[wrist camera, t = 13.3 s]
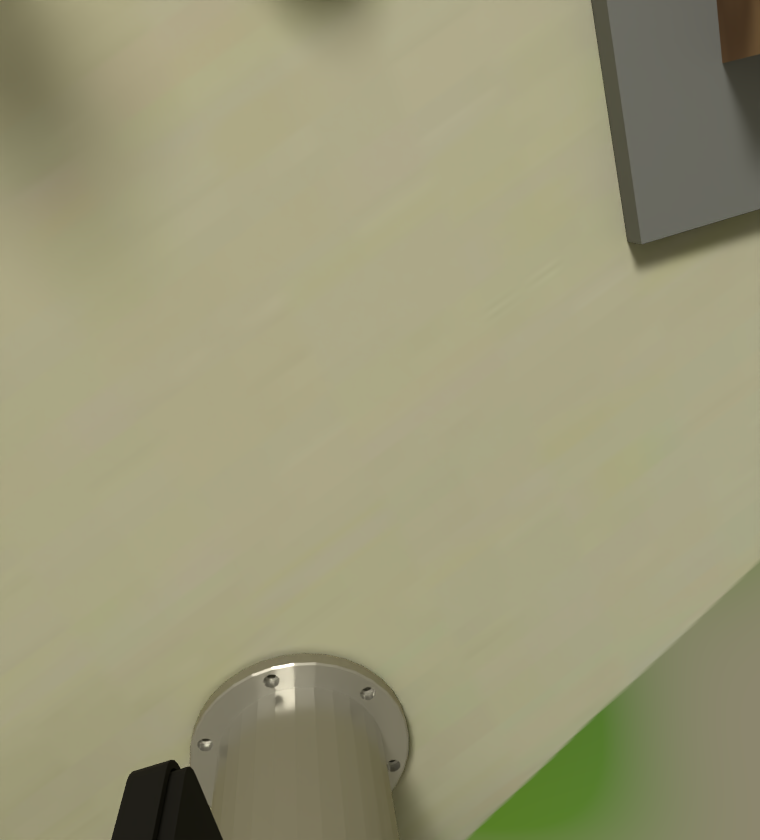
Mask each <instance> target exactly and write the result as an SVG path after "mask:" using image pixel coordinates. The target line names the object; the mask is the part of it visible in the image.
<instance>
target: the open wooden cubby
mask: <svg viewBox="0 0 760 840" xmlns="http://www.w3.org/2000/svg"><path fill="white" fill-rule="evenodd" d="M716 1H717V12H718V22H719V33H720V44H721V54H722V63H726V62H730V61H734V60H738V59H742V58H746V57H750V56H754V55H758V54H760V0H716Z"/></svg>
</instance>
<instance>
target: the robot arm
mask: <svg viewBox="0 0 760 840" xmlns="http://www.w3.org/2000/svg"><path fill="white" fill-rule="evenodd" d="M408 754H409V734H408V729H407V723H406V719H405V716H404V713H403V710H402V707H401V704H400V702H399V701H398V699H397V697H396V696H395V694H394V692H393V691H392V689H391V688H390V687H389V686H388V685H387V684H386V683H385V682H384V681H383V680H382V679H381V678H380V677H379V676H377V675H376V674H374V673H373V672H371V671H370V670H368V669H367V668H365V667H364V666H361V665H359V664H356V663H354V662H352V661H349V660H347V659H344V658H339V657H335V656H330V655H326V654H309V653H302V654H292V655H283V656H279V657H275V658H272V659H268V660H264V661H261V662H259V663H257V664H255V665H252V666H250V667H248V668H246V669H244V670H242V671H240V672H239V673H237V674H236V675H234V676H233V677H231V678H230V679H228V680H227V681H225V682H224V683H223V684H222V685H221V686H220V687H219V688H218V689H217V690H216V691H215V692H214V693H213V694H212V695H211V697H210V698H209V699H208V701H207V702H206V704H205V705H204V707H203V708H202V710H201V711H200V714H199V716H198V719H197V721H196V724H195V726H194V730H193V735H192V740H191V745H190V767H185V768H182V769H180V767H179V765H178V763H177V762H176V761H175V760H169V761H166V762H163V763H159V764H156V765H153V766H149V767H146V768H143V769H140V770H136V771H133V772H132V773H131V774H130V775H129V777H128V779H127V782H126V786H125V790H124V794H123V798H122V801H121V805H120V809H119V813H118V816H117V820H116V824H115V828H114V831H113V835H112V839H111V840H400V838H399V832H398V826H397V820H396V815H395V809H394V803H393V798H392V790H393V789H394V788H395V787H396V785H397V783H398V781H399V779H400V777H401V775H402V773H403V771H404V769H405V765H406V761H407V758H408ZM209 806H210V807H209ZM210 808H211V810H210Z"/></svg>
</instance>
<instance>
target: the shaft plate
mask: <svg viewBox="0 0 760 840" xmlns="http://www.w3.org/2000/svg"><path fill="white" fill-rule="evenodd" d="M591 2H592V8H593V15H594V22H595V28H596V35H597V42H598V48H599V55H600V61H601V68H602V75H603V81H604V88H605V95H606V101H607V108H608V115H609V121H610V128H611V135H612V141H613V148H614V154H615V161H616V168H617V174H618V181H619V188H620V194H621V201H622V208H623V214H624V221H625V228H626V234H627V241H628V242H633V243H638V244H644V243H648V242H651V241H654V240H658V239H661V238H664V237H668V236H671V235H674V234H678V233H681V232H684V231H688V230H691V229H694V228H698V227H701V226H704V225H708V224H711V223H714V222H718V221H721V220H724V219H728V218H731V217H734V216H738V215H741V214H744V213H748V212H751V211H754V210H758V209H760V54H758V55H754V56H750V57H746V58H742V59H738V60H734V61H730V62H726V63H722V54H721V44H720V33H719V22H718V12H717V1H716V0H591Z"/></svg>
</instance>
